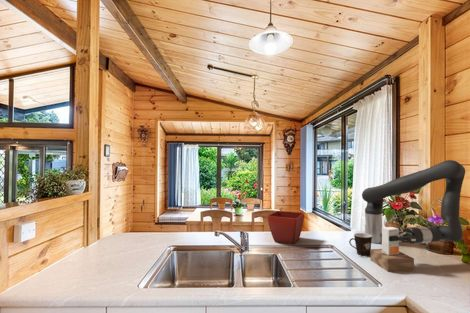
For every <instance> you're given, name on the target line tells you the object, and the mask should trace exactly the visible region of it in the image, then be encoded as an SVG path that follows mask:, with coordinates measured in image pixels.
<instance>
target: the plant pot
mask: <svg viewBox="0 0 470 313" xmlns="http://www.w3.org/2000/svg"><path fill="white" fill-rule="evenodd" d="M266 218H267V223H268V227H269V230H270V234H271V237H272V238H273V241H274V242H276V243H282V244H291V245H294V244H295V243H296V242H297V241H299V239H300V238H301V237H300V236H301V235H302V230H303V225H304V219H305V212H299V211H287V210H286V211H285V210H276V211H274V212H272V213H269V214H267V216H266Z"/></svg>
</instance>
